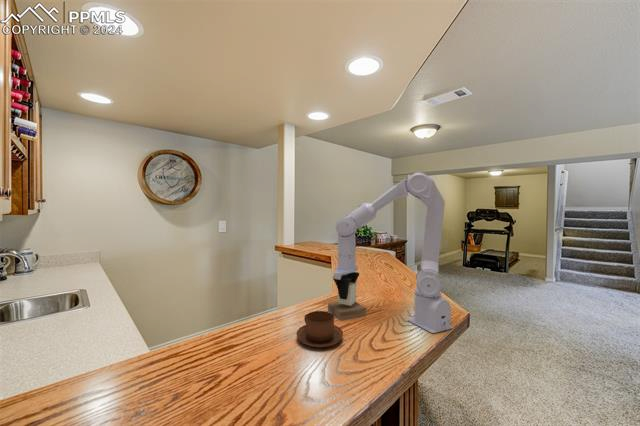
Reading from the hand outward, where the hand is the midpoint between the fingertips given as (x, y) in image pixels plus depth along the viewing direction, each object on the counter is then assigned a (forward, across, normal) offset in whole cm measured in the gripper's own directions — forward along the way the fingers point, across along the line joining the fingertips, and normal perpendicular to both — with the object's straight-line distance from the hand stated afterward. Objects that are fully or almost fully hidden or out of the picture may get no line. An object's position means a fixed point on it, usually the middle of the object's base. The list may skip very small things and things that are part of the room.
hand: (346, 296), depth 86 cm
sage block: (+2, 0, 0) cm, 2 cm away
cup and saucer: (+6, +19, +1) cm, 20 cm away
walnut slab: (+6, 0, 0) cm, 6 cm away
